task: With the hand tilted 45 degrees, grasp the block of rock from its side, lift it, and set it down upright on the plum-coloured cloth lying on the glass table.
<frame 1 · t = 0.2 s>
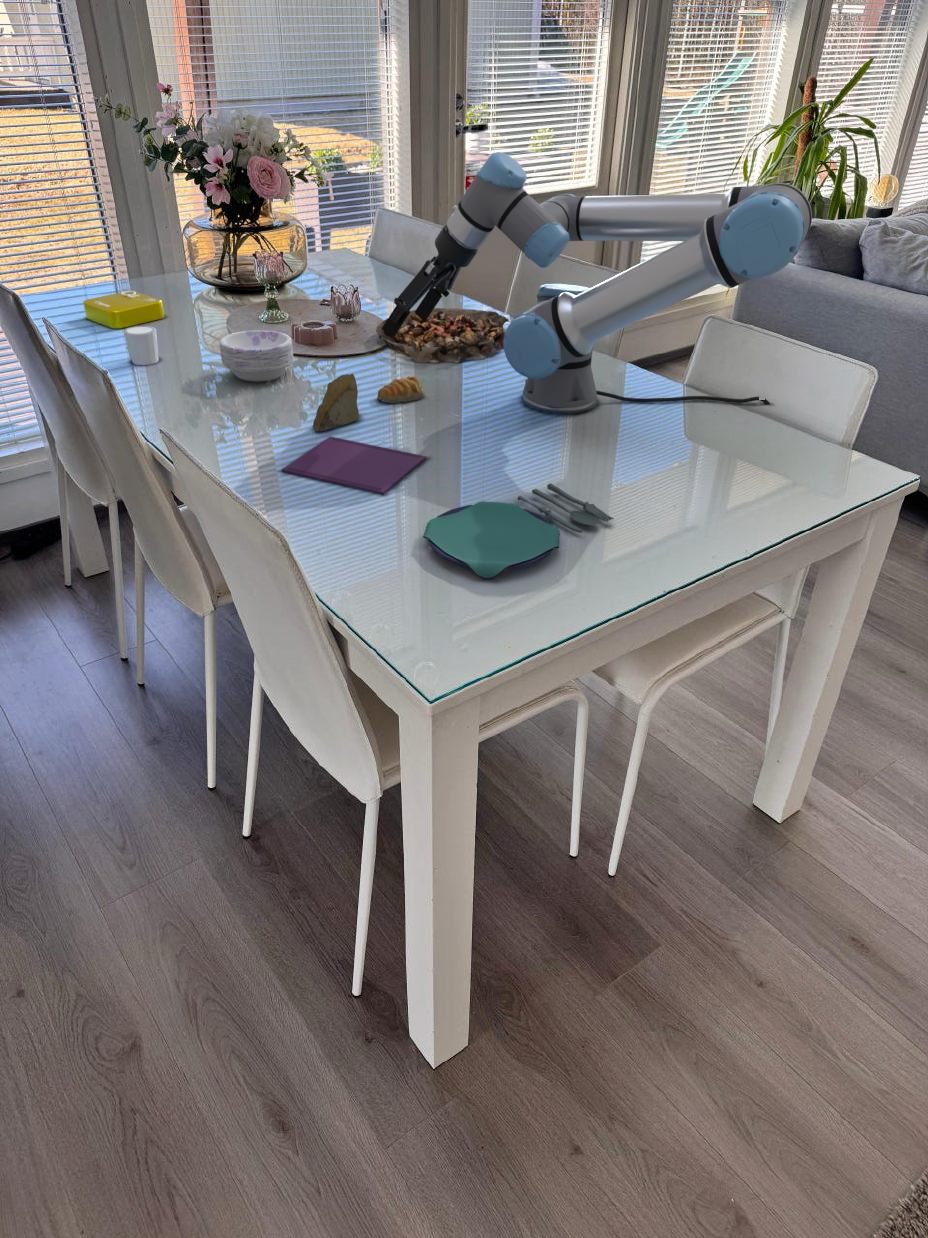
hand: (404, 324, 175), 15 cm above the table, tool tilted 35°, fingers open, 13 cm apart
cloth: (355, 465, 157), on the table
food dish: (446, 341, 217), on the table
pastry: (401, 398, 185), on the table
paper bowls: (259, 375, 195), on the table
rock: (336, 424, 173), on the table
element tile: (126, 318, 228), on the table
cutlery set: (516, 536, 137), on the table
shot glass: (145, 361, 201), on the table
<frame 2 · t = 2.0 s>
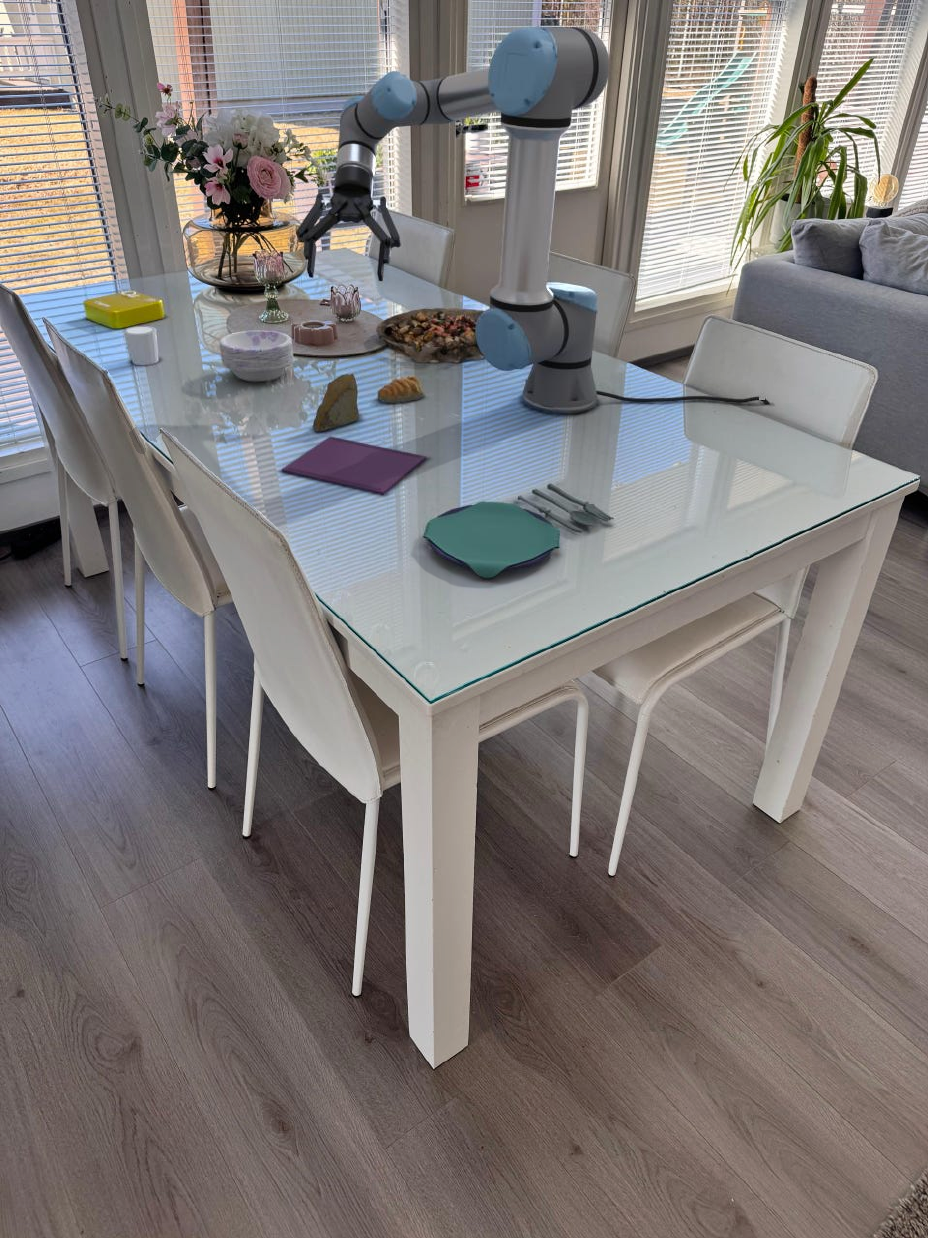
hand: (344, 275, 172), 24 cm above the table, tool tilted 45°, fingers open, 13 cm apart
nothing on the table moved.
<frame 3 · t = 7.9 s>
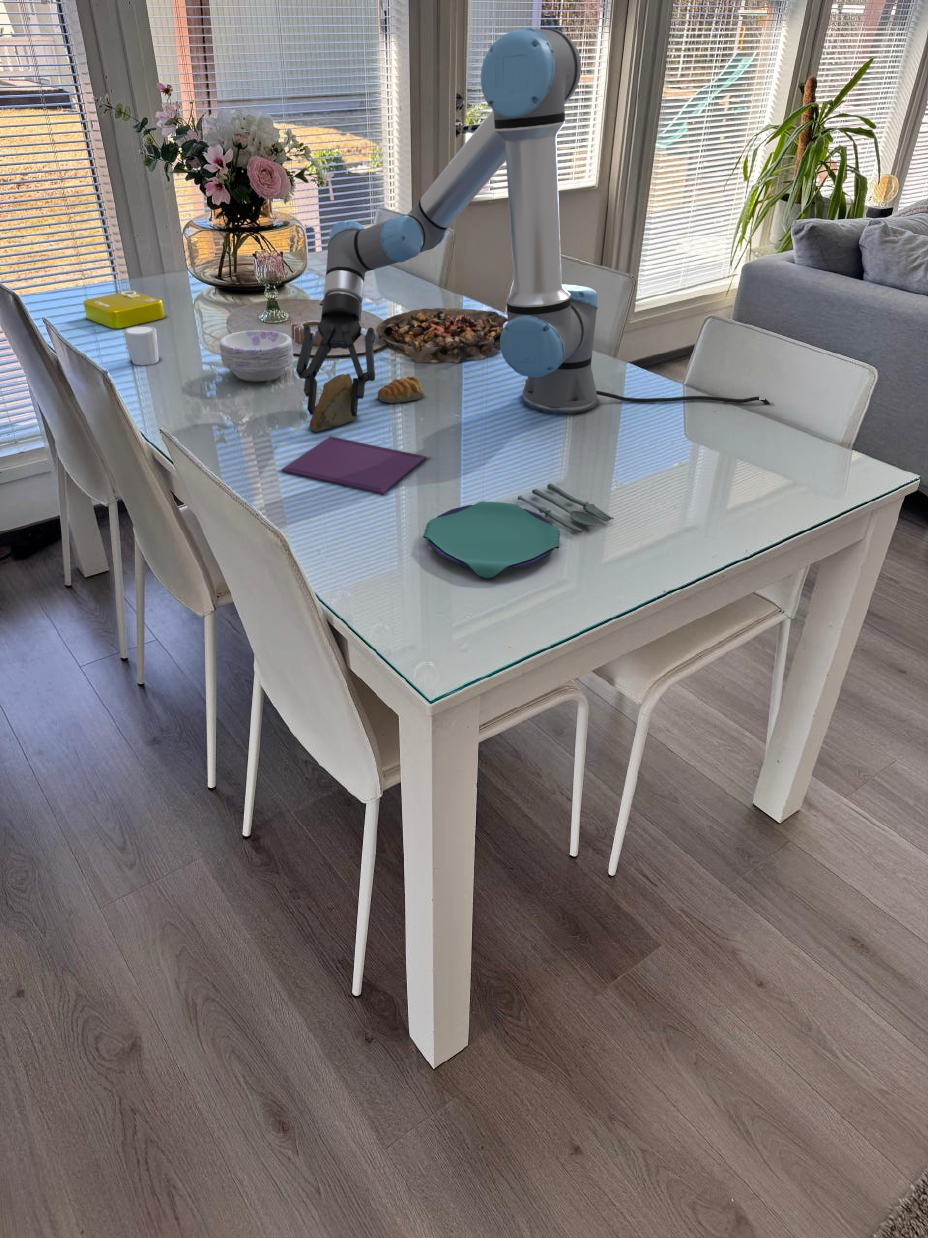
hand: (332, 412, 168), 4 cm above the table, tool tilted 45°, fingers closed on rock, 7 cm apart
rock: (332, 424, 173), on the table, touching gripper
everything else where it was.
when the fingers open (4 cm above the table, at t = 16.1 s): rock stays where it is, resting on cloth.
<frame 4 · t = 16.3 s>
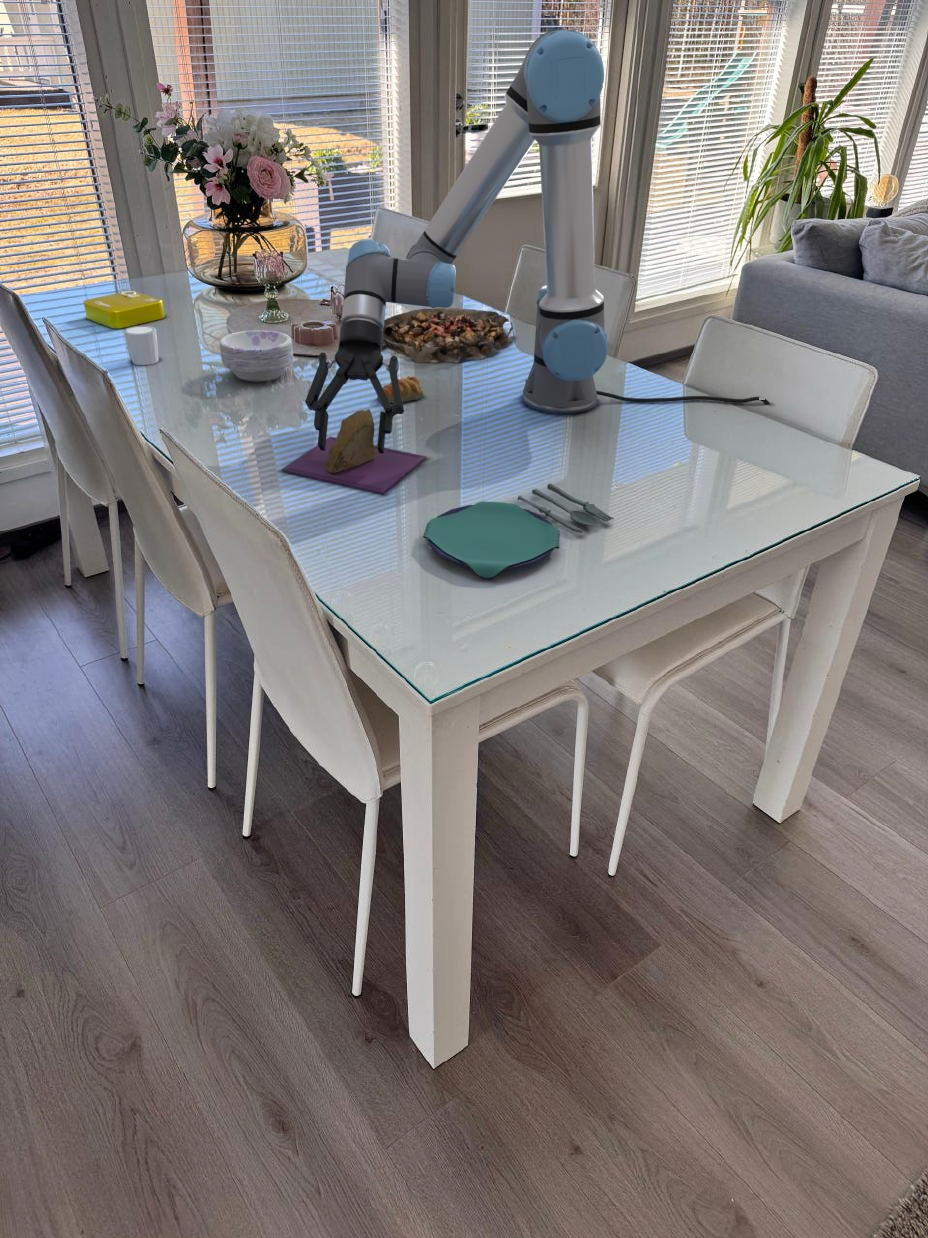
hand: (350, 448, 152), 4 cm above the table, tool tilted 45°, fingers open, 9 cm apart
rock: (350, 464, 157), resting on cloth
everything else where it was.
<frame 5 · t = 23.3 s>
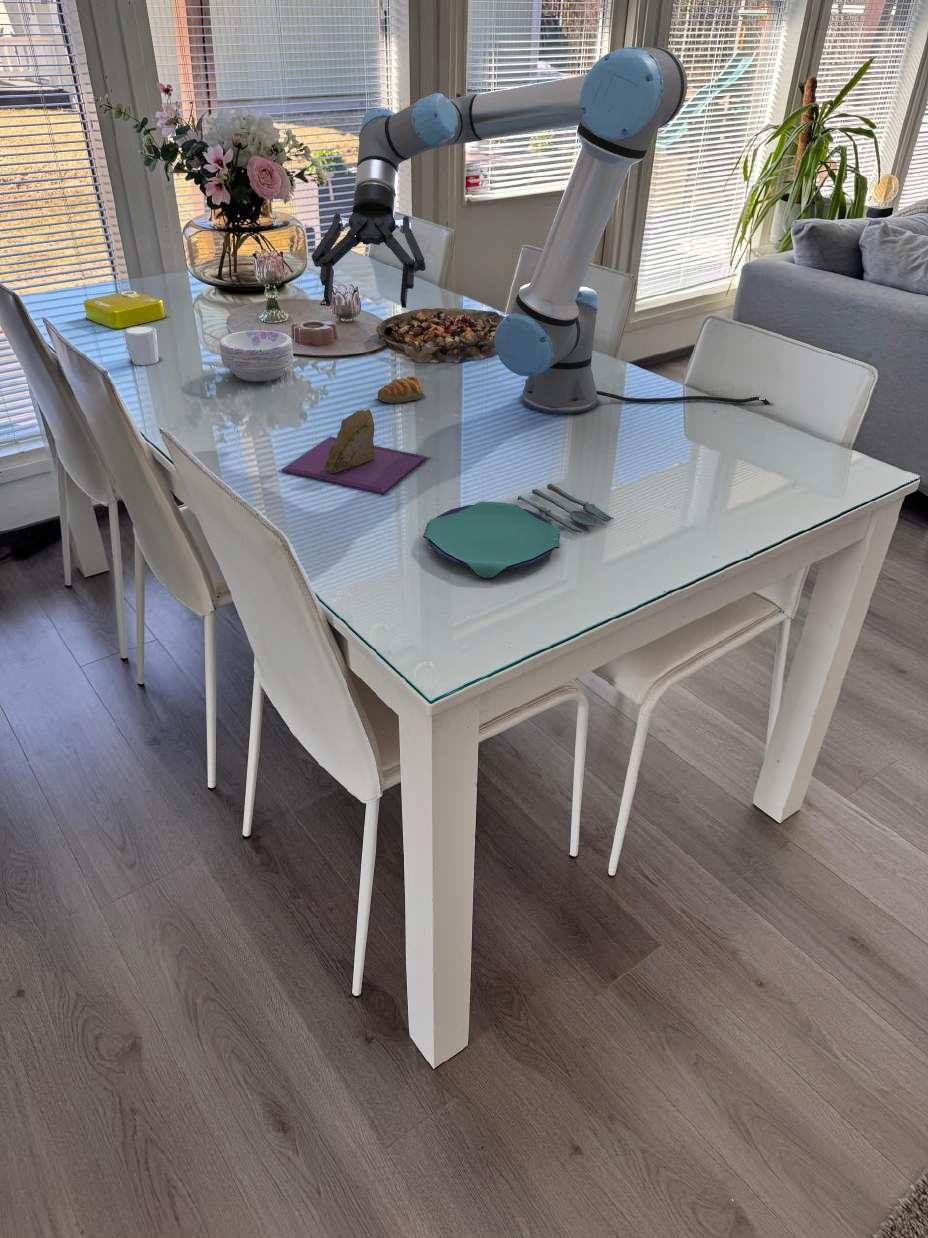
hand: (365, 302, 157), 24 cm above the table, tool tilted 45°, fingers open, 13 cm apart
nothing on the table moved.
at the end: rock inside the target area on the cloth (0.9 cm from its centre), point 0.3 cm above the cloth's base; rock tilted 1°; the gripper is holding nothing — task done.
